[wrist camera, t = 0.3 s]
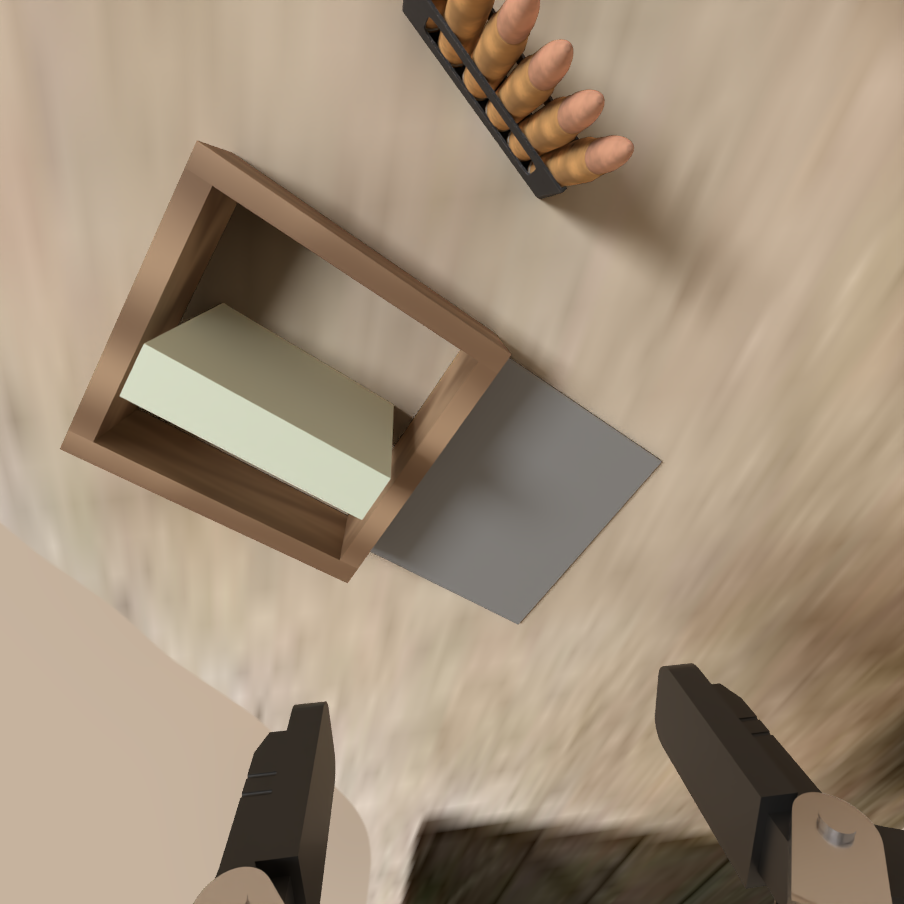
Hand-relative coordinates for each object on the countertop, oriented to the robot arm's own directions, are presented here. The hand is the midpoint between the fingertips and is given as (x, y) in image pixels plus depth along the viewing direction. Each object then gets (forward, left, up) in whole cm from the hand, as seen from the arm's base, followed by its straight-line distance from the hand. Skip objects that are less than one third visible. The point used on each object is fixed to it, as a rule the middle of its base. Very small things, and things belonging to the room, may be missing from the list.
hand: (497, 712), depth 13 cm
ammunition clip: (-15, -7, -23) cm, 28 cm away
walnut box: (+3, -8, -22) cm, 24 cm away
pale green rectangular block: (+3, -8, -22) cm, 24 cm away
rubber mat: (+3, +8, -22) cm, 24 cm away
